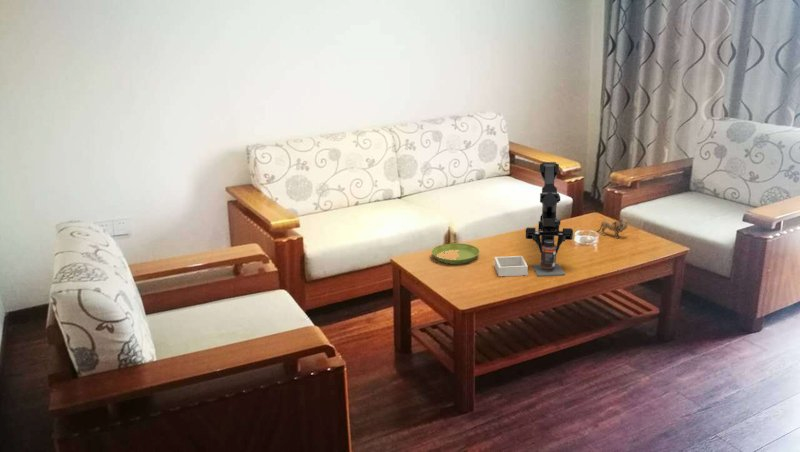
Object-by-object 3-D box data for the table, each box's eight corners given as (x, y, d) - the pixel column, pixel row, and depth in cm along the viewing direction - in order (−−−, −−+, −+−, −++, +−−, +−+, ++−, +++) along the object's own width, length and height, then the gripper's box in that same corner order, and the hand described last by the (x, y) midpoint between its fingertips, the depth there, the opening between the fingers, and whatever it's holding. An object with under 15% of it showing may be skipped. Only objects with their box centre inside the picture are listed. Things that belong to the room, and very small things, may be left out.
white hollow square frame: (494, 265, 279) (494, 257, 277) (522, 264, 279) (522, 255, 277) (498, 276, 268) (498, 267, 266) (527, 275, 268) (527, 266, 266)
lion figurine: (628, 237, 304) (630, 218, 301) (624, 240, 301) (625, 221, 298) (598, 231, 314) (599, 213, 311) (593, 234, 310) (594, 216, 307)
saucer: (472, 268, 278) (472, 261, 277) (426, 264, 285) (425, 257, 284) (484, 251, 296) (484, 244, 295) (439, 247, 303) (439, 241, 302)
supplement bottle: (557, 268, 269) (559, 242, 265) (544, 270, 268) (546, 244, 264) (550, 263, 274) (552, 237, 271) (537, 265, 273) (539, 239, 269)
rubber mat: (532, 266, 277) (532, 264, 276) (558, 265, 277) (558, 263, 276) (537, 276, 266) (537, 275, 266) (565, 275, 266) (565, 273, 266)
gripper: (526, 208, 269) (525, 244, 262) (573, 209, 265) (573, 245, 259) (526, 221, 279) (525, 255, 272) (571, 221, 275) (572, 256, 268)
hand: (548, 252), depth 268 cm, fingers closed on supplement bottle, 6 cm apart
